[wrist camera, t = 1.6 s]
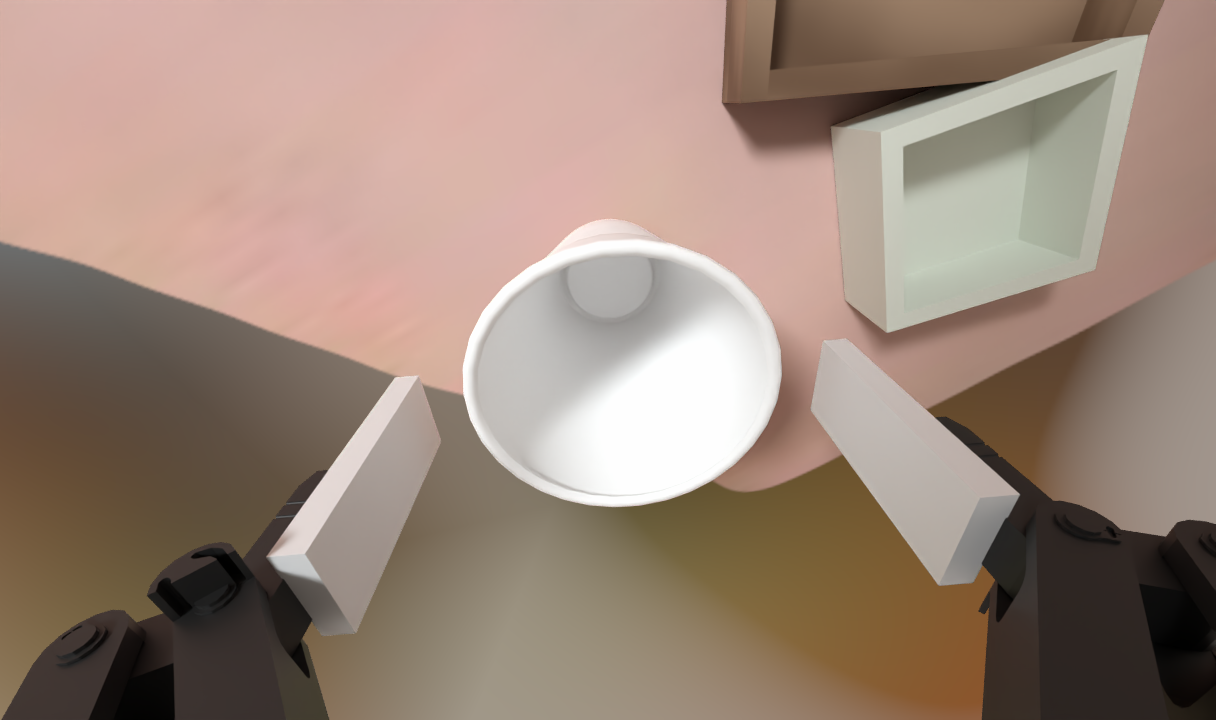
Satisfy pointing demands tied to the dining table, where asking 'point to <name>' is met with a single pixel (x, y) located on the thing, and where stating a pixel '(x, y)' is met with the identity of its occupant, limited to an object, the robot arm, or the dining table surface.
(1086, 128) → the small crate
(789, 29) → the brown square tray
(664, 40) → the dining table surface
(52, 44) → the dining table surface
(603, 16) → the dining table surface
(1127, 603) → the robot arm
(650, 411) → the cup
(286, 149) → the dining table surface
